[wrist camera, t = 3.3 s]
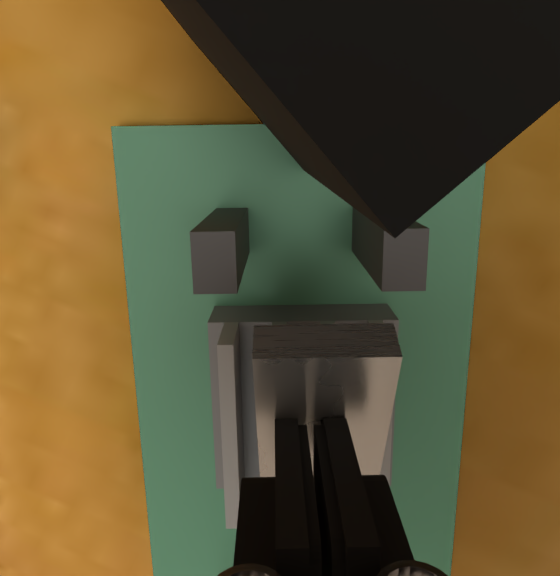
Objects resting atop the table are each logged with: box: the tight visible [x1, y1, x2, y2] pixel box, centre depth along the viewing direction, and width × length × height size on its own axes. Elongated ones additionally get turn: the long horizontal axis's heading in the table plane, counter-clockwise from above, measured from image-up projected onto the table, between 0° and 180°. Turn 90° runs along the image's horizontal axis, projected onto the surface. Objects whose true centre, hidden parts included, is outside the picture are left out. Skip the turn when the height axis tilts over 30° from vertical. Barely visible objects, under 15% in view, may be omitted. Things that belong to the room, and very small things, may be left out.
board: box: [111, 124, 486, 576], centre depth 21 cm, size 24×16×9 cm, turn 1°
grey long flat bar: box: [252, 323, 403, 477], centre depth 16 cm, size 18×4×1 cm, turn 1°
